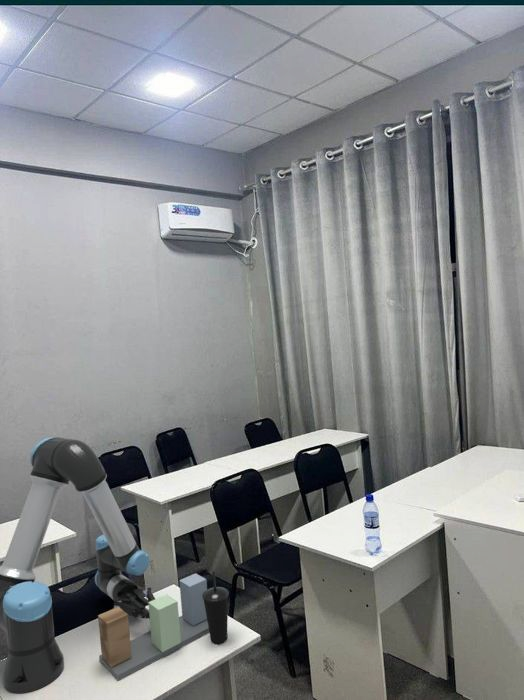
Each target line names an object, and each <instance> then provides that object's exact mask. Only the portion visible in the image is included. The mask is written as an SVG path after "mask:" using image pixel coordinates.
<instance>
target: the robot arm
mask: <svg viewBox="0 0 524 700" xmlns="http://www.w3.org/2000/svg"><path fill="white" fill-rule="evenodd" d="M29 457H30V458H29V459H30V460H29V461H30V463H31V467H32V469H31V470H30V471H31V472H30V475H29V477H30V480H31V481H32V482H31V483H32V484H31V487H30V490H29V491H28V494H27V496H26V497H27V498H26V500H25V504H24V505H23V508H22V510H21V514H20V517H19V520H18V522H17V524H16V528H15V530H14V533H13V535H12V539H11V540H10V543H9V546H8V549H7V551H6V553H5V557H4V560H3V562H2V564H1V565H0V629H1V630H3V631H4V632H5V634H6V644H7V653H8V654H7V658H6V662H5V667H4V669H3V677H2V678H3V686H4V688H5V689H6V691H8V692H10V693H16V694H24V693H29V692H33V691H36V690H39V689H41V688H43V687H46V686H48V685H49V684H51V683H52V682H53V681H55V680H56V679H57V678H58V677H59V676H61V674H62V672H63V670H64V669H65V659H64V654H63V652H62V650H61V649H60V646H59V644H58V643H57V641H56V638H55V625H54V615H53V605H52V604H53V600H52V599H53V598H52V594H51V591H50V587H49V586H48V585H47V584H45V583H44V582H42V581H36V575H35V573H34V568H35V565H36V561H37V559H38V556H39V553H40V552H41V551H40V550H41V548H42V544H43V542H44V538H45V536H46V534H47V530H48V528H49V525H50V522H51V519H52V516H53V513H54V512H55V511H54V510H55V508H56V505H57V502H58V499H59V496H60V493H61V491H62V489H64V488H66V487H68V486H69V483H72V485H73V486H74V488H75V490H76V491H77V492H78V493H81V494H82V495H83V497H84V500H85V501H86V503H87V505H88V506H89V509H90V511H91V513H92V515H93V517H94V518H95V521H96V522H97V525H98V526H99V528H100V530H101V532H102V535H99V536H98V537H97V538H96V540H95V552H96V554H95V555H96V561H97V571H96V572H97V573H95V576H94V582H95V585H96V587H98V589H99V590H100V591H101V592H103V593H104V594H105V595H107V596H108V597H110V599H112V600H113V609H114V608H116V607H119V608H121V609H122V610H123V611H124V612H126V613H127V614H128V616H129V617H132V618H135V619H136V618H139V616H140V618H141V620H142V619H149V620H150V616H149V604H148V602H150V601H153V600H155V599H156V597H155V596H154V595H153V592H152V588H151V587H148V588H147V589H145V590H143V589H142V588H139V587H138V585H137V584H136V583H135V582H134V581H132V580H131V579H129V578H128V577H126V576H125V575H124V574H123V573H122V572H124V573H126V574H127V575H131V576H132V575H133V576H137V577H138V576H141V575H143V574H145V572H147V570H148V568H149V566H150V555H149V554H148V553H147V552H145V551H144V550H142V549H140V548H139V546H138V544H137V542H136V540H135V537H134V536H133V534H132V532H131V529H130V528H129V526H128V524H127V523H128V522H127V521H126V520H125V517H124V515H123V514H122V511H121V509H120V507H119V505H118V503H117V501H116V499H115V497H114V494H113V493H112V491H111V488H110V487H109V484H108V482H107V481H106V479H107V477H108V475H107V472H106V470H105V468H104V466H103V464H102V463H101V460H100V459H99V458H98V456H97V454H96V453H95V452H94V450H93V449H92V448H91V447H90V446H89V445H88V444H87V443H85V442H83V441H82V440H79V439H71V438H67V437H66V438H65V437H60V436H56V437H55V436H54V437H47V438H44V439H42V440H40V441H39V442H38V443H37V444H35V446H34V447H33V449H32V451H31V453H30V456H29Z"/></svg>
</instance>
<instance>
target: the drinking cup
mask: <svg viewBox="0 0 524 700" xmlns="http://www.w3.org/2000/svg"><path fill="white" fill-rule="evenodd" d="M212 584H213V587H210V588H207V590H206V591H204V592H203V594H202V598H203V600H204V605H205V610H206V616H207V622H208V627H209V633H208V634H209V638H210V642H211V643H212V644H213V643H214V644H213V645H221V644H224V643H226V642H227V640H228V621H229V620H228V614H229V612H228V609H229V606H228V605H229V604H228V603H229V602H228V600H229V599H228V597H229V593H230V592H229V590H228V589H227V588H225V587H223V586H217V585H216V584H217V583H216V572H215V571H212Z"/></svg>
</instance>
